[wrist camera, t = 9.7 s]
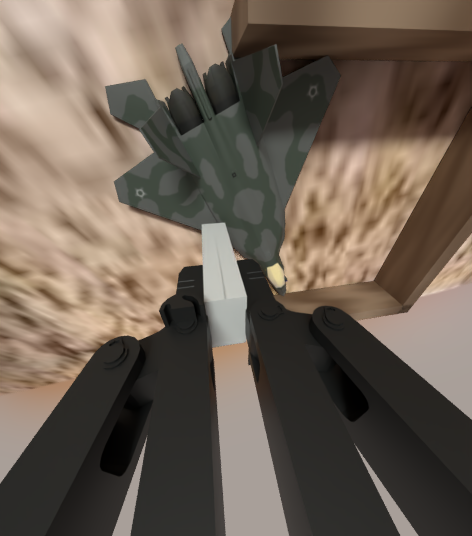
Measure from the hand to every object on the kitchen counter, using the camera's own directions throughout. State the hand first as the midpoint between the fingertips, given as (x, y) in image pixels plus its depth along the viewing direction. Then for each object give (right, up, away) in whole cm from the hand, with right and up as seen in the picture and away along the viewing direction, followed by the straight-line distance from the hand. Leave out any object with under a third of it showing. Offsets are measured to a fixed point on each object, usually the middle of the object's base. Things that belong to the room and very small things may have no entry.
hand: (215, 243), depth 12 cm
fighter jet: (+2, +2, +2) cm, 4 cm away
